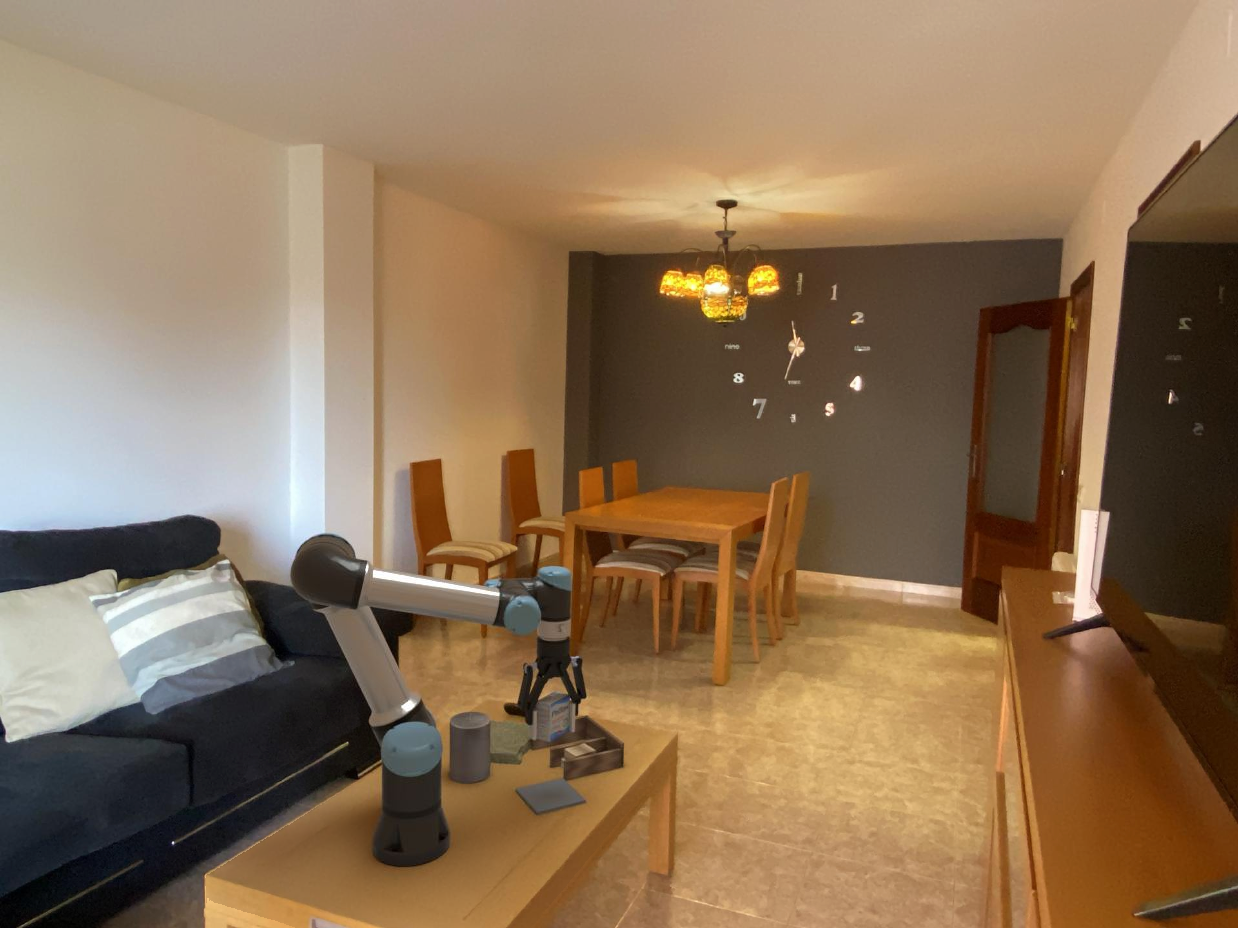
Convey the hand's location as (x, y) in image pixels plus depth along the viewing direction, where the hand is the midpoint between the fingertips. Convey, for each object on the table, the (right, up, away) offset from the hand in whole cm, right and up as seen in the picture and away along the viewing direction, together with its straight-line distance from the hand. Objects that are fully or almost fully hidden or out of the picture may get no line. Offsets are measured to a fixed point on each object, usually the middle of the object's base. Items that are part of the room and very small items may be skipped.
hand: (551, 733), depth 189 cm
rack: (+4, -13, +22) cm, 26 cm away
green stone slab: (-16, -13, +27) cm, 34 cm away
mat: (0, -15, +1) cm, 15 cm away
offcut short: (+6, -12, +16) cm, 21 cm away
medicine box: (0, 0, 0) cm, 0 cm away
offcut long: (+6, -14, +17) cm, 23 cm away
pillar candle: (-20, -14, +11) cm, 27 cm away
